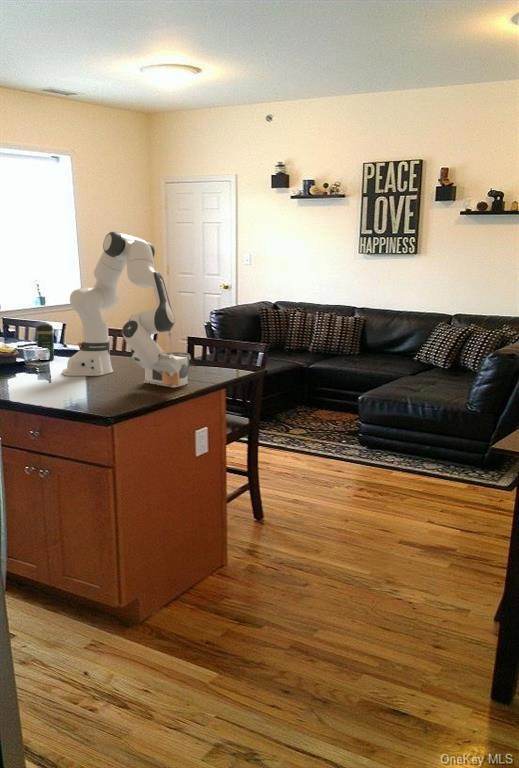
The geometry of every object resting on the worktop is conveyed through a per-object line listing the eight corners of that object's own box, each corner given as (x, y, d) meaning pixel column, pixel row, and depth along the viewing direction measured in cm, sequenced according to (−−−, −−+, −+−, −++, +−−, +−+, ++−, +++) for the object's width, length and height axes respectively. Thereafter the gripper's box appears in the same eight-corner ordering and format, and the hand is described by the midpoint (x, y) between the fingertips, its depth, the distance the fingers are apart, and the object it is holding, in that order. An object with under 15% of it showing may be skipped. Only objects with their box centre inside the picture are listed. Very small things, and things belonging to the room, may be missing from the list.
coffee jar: (54, 361, 325) (52, 324, 322) (38, 361, 323) (36, 324, 319) (54, 358, 334) (52, 322, 331) (38, 358, 332) (36, 322, 328)
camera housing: (143, 383, 276) (143, 356, 274) (159, 379, 284) (159, 353, 282) (174, 388, 266) (174, 361, 264) (190, 384, 274) (190, 357, 272)
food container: (195, 375, 296) (195, 353, 294) (189, 377, 291) (188, 355, 289) (173, 372, 301) (172, 351, 299) (165, 374, 296) (165, 353, 294)
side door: (156, 384, 266) (155, 364, 264) (164, 382, 270) (163, 362, 268) (171, 387, 261) (171, 366, 260) (179, 385, 265) (179, 365, 263)
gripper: (174, 350, 251) (190, 371, 260) (136, 345, 262) (153, 365, 272) (166, 362, 248) (183, 383, 258) (128, 357, 259) (146, 377, 269)
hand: (167, 374), depth 265 cm, fingers open, 3 cm apart
